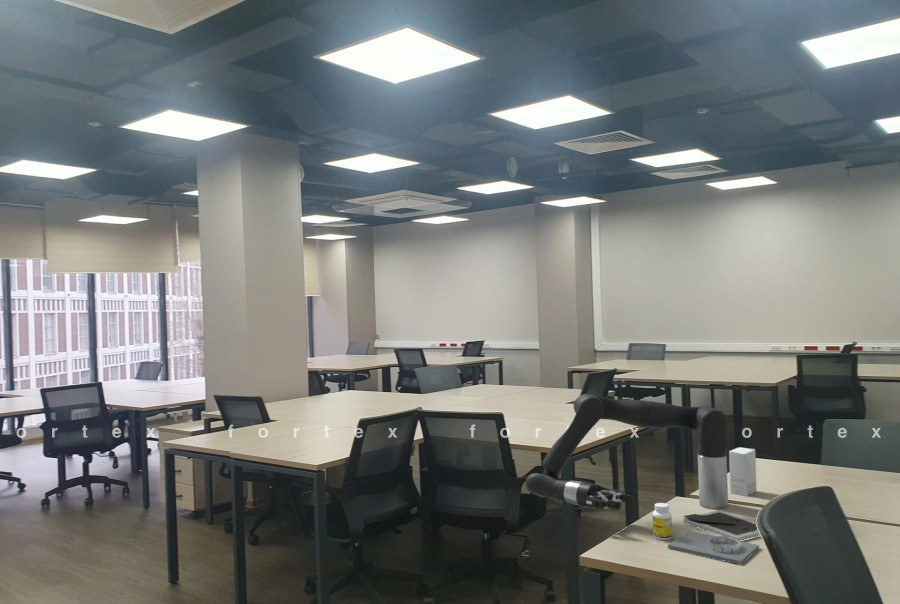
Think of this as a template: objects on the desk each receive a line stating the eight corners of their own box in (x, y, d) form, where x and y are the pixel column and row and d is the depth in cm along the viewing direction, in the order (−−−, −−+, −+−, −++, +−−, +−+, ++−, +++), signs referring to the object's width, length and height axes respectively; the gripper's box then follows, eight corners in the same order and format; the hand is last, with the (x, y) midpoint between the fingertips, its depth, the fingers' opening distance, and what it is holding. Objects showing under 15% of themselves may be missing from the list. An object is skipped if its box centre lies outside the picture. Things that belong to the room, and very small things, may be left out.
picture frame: (683, 524, 210) (737, 545, 191) (683, 515, 210) (737, 535, 191) (719, 516, 217) (774, 535, 198) (719, 507, 217) (774, 525, 198)
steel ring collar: (713, 539, 192) (713, 534, 192) (746, 546, 186) (745, 540, 186) (701, 548, 185) (701, 542, 185) (734, 555, 179) (734, 550, 179)
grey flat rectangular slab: (689, 533, 200) (689, 530, 200) (759, 548, 186) (759, 545, 186) (668, 548, 188) (668, 544, 188) (740, 565, 175) (740, 561, 175)
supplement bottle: (649, 536, 199) (648, 503, 199) (664, 533, 201) (663, 501, 201) (661, 541, 194) (660, 508, 194) (676, 538, 196) (675, 505, 196)
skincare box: (740, 488, 246) (738, 446, 246) (758, 492, 241) (756, 449, 241) (729, 493, 240) (727, 450, 240) (747, 496, 235) (745, 453, 235)
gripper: (569, 486, 211) (615, 495, 200) (592, 477, 221) (637, 486, 210) (569, 510, 211) (615, 520, 200) (592, 500, 221) (637, 509, 210)
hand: (626, 502), depth 205 cm, fingers open, 8 cm apart
